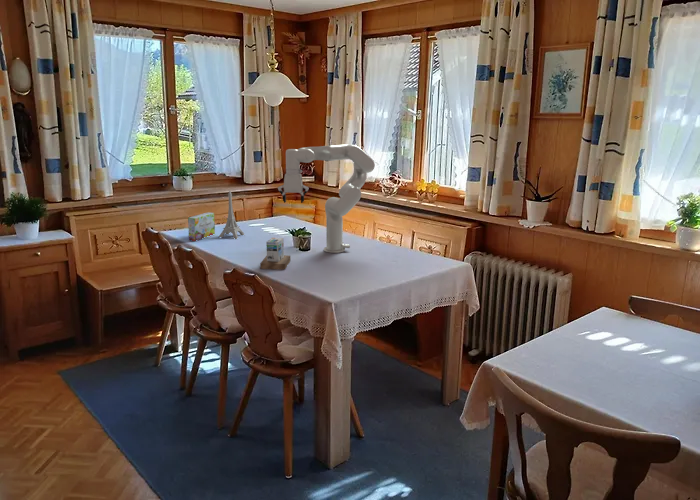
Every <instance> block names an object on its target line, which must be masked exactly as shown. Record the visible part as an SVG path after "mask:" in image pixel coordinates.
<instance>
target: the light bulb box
mask: <svg viewBox="0 0 700 500" xmlns="http://www.w3.org/2000/svg"><path fill="white" fill-rule="evenodd" d="M284 243H285V242H284V237H270V239H268V240H267V241H266V256H267V261H272V262H279V261H280V260H281V259H282V258H284V255H285V251H284V250H285V248H284V247H285V246H284V245H285V244H284Z"/></svg>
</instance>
